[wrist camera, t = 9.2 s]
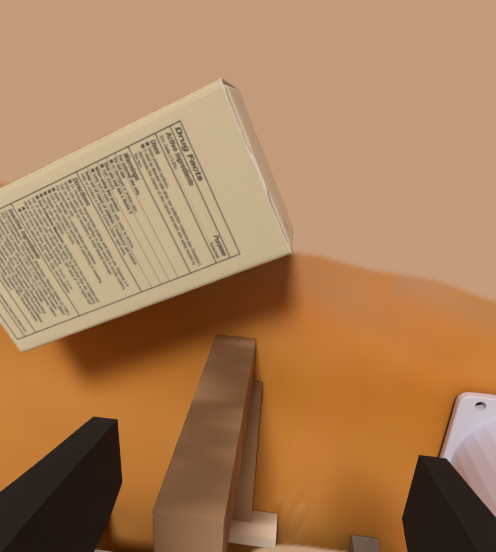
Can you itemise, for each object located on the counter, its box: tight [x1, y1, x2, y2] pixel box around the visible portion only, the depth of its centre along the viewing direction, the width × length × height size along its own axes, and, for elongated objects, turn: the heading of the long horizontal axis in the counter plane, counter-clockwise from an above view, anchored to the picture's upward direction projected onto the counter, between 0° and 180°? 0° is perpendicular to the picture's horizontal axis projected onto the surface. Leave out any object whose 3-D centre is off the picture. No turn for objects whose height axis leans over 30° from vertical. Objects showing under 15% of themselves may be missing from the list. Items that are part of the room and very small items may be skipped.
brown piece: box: [152, 335, 277, 552], centre depth 18 cm, size 6×12×10 cm, turn 176°
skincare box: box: [0, 78, 293, 352], centre depth 17 cm, size 6×4×12 cm
